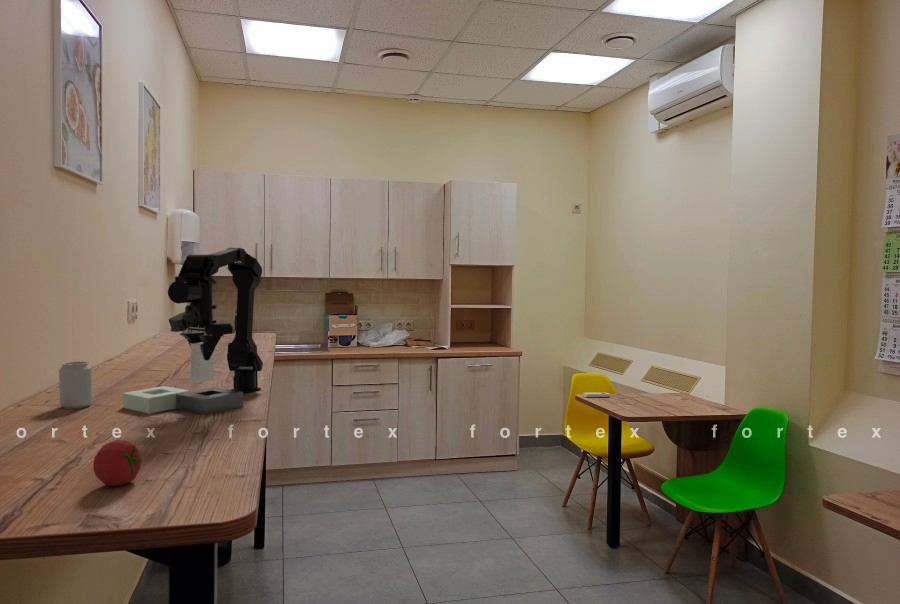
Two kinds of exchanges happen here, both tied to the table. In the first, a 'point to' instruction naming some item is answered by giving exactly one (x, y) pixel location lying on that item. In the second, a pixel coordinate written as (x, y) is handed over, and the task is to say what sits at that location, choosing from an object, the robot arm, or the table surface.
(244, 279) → the robot arm
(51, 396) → the table surface
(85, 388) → the can
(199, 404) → the mount
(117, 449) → the tomato
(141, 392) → the dock
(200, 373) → the pin
